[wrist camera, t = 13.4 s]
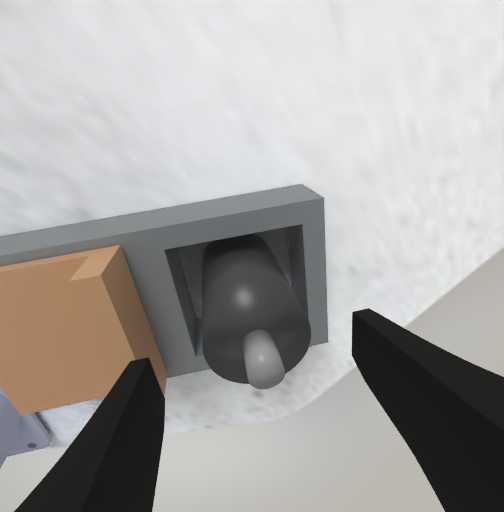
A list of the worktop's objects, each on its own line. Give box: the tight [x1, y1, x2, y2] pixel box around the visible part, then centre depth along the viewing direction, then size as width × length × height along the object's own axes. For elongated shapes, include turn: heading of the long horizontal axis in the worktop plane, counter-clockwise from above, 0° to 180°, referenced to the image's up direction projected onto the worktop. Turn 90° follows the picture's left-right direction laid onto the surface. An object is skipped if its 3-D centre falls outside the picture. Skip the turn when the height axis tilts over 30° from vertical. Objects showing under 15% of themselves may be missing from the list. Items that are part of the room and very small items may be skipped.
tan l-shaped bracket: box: [0, 245, 167, 416], centre depth 12 cm, size 7×7×3 cm
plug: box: [202, 233, 311, 389], centre depth 13 cm, size 4×4×8 cm
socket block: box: [0, 184, 328, 378], centre depth 15 cm, size 15×8×3 cm, turn 97°
